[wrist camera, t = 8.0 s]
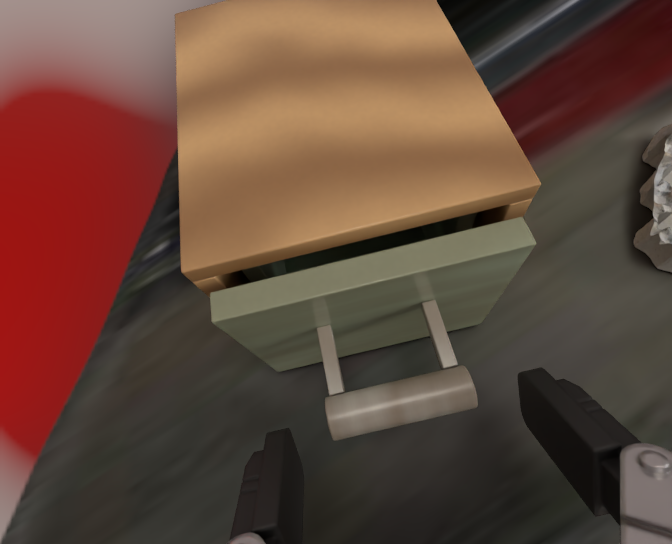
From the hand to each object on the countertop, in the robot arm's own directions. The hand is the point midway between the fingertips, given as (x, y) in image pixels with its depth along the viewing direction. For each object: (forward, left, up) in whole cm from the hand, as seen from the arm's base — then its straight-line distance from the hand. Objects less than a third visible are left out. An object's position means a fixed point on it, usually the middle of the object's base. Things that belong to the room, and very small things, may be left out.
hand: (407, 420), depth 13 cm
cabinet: (+10, -10, -8) cm, 16 cm away
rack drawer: (+7, -7, -7) cm, 12 cm away
